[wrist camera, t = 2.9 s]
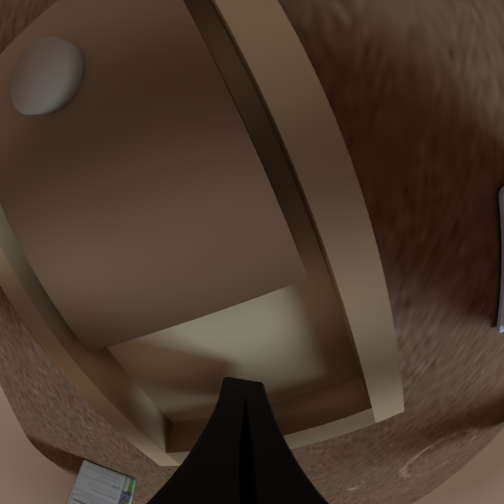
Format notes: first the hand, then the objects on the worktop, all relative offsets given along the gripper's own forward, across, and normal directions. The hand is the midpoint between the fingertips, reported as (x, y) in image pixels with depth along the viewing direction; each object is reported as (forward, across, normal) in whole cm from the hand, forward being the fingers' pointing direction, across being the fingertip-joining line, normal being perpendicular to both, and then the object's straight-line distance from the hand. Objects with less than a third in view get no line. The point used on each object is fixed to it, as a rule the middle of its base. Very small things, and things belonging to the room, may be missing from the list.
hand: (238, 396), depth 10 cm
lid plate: (+1, +5, -7) cm, 9 cm away
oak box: (+4, +4, -5) cm, 7 cm away
